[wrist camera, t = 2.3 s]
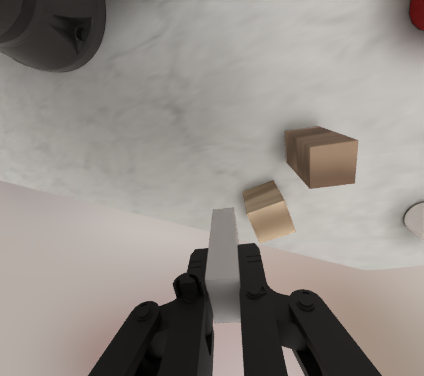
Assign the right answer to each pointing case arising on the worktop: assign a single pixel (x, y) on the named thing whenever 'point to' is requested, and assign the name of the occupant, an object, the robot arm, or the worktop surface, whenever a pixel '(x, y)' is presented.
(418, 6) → the plastic cup
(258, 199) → the oak block
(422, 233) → the drinking glass
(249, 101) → the worktop surface
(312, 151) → the walnut block
